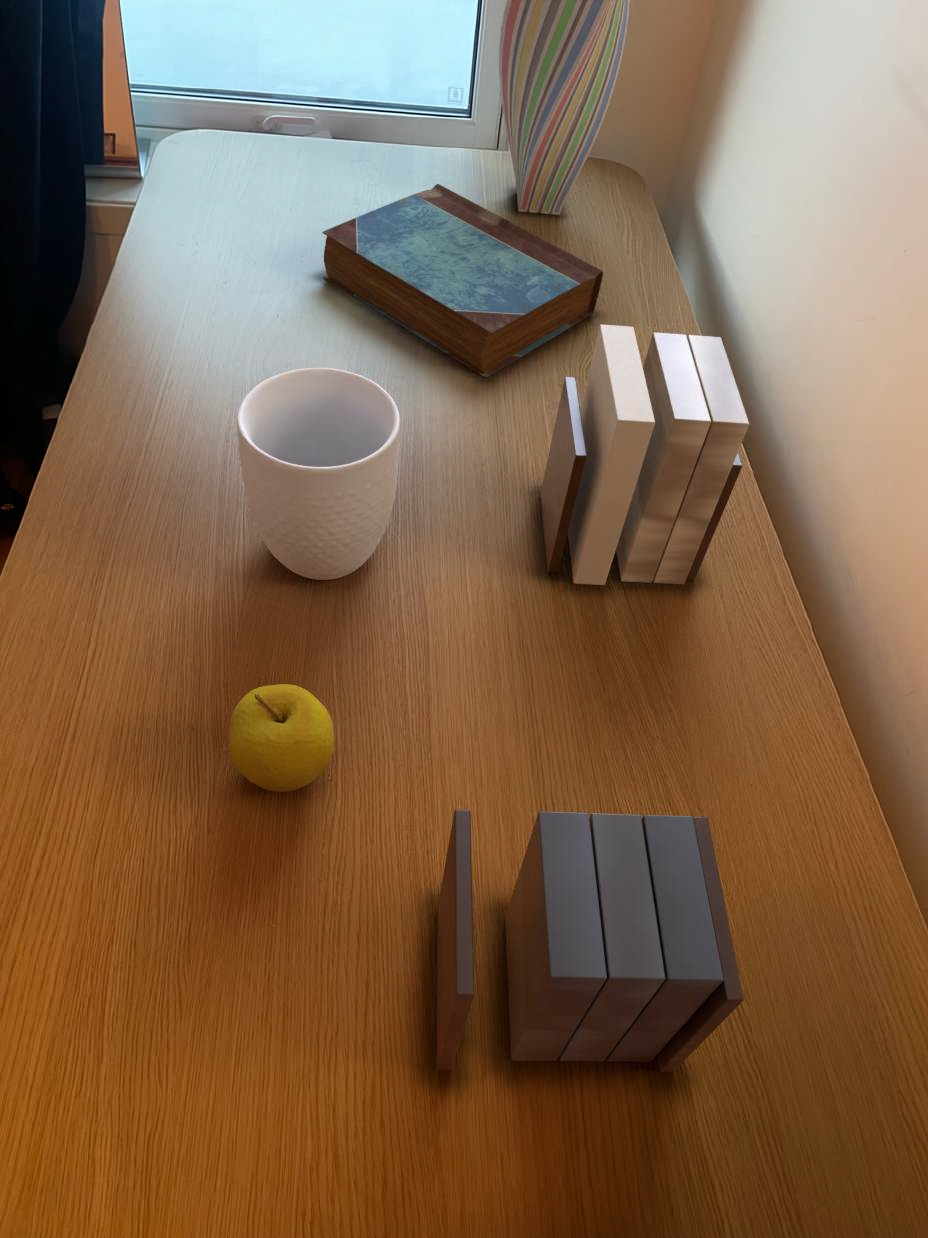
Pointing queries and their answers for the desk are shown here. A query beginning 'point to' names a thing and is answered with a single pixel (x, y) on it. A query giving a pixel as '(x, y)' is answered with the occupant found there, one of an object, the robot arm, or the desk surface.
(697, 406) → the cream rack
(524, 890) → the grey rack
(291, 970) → the desk surface
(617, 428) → the cream book
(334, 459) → the mug
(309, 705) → the apple
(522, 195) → the vase
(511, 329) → the book
